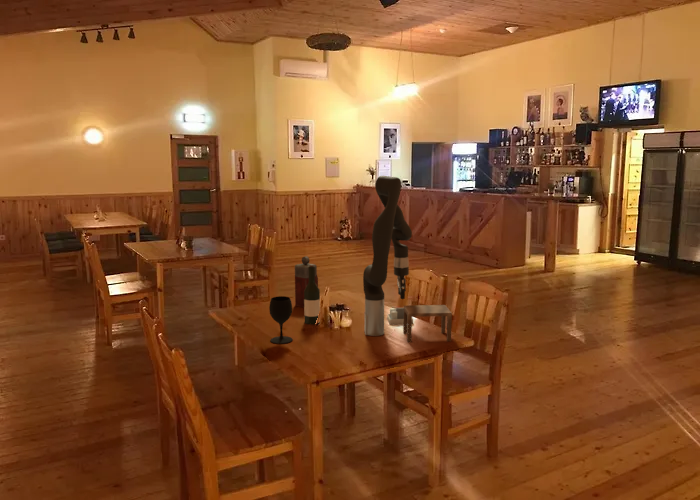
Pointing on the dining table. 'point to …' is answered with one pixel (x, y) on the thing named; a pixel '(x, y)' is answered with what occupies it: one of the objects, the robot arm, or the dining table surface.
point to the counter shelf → (427, 312)
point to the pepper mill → (302, 280)
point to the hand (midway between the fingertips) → (401, 296)
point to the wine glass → (281, 316)
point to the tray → (396, 321)
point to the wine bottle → (311, 298)
